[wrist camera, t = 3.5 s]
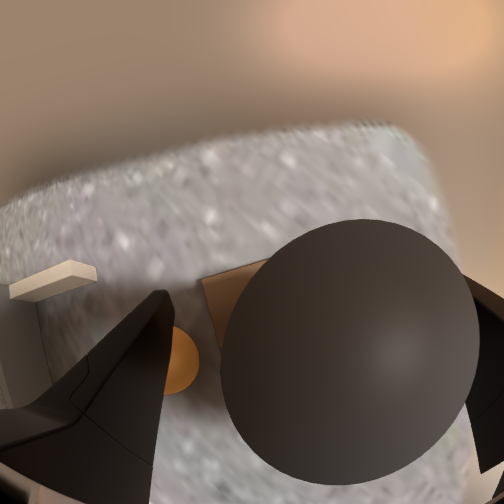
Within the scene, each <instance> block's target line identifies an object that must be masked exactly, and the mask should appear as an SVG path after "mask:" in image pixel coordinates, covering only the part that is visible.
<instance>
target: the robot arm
mask: <svg viewBox="0 0 504 504" xmlns="http://www.w3.org/2000/svg"><path fill="white" fill-rule="evenodd" d="M461 274H462V273H461ZM462 275H463V274H462ZM463 277H464V279H465V281H466V282H467V285H468V287H469V289H470V292H471V294H472V297H473V300H474V304H475V307H476V311H477V316H478V323H479V337H480V345H479V357H478V363H477V368H476V373H475V377H474V380H473V383H472V386H471V389H470V392H469V394H468V396H467V399H466V401H465V404H466V408H467V411H468V415H469V419H470V423H471V428H472V432H473V437H474V441H475V446H476V451H477V457H478V462H479V469H480V473H481V474H482V473H484V472H486V471H488V470H489V469H491V468H493V467H494V466H496V465H498V464H499V463H501V462H503V461H504V299H503V298H502V297H500V296H498V295H497V294H495V293H494V292H492V291H490V290H489V289H487V288H485V287H484V286H482V285H480V284H479V283H477V282H475V281H474V280H472V279H470V278H469V277H467V276H465V275H463ZM174 316H175V311H174V307H173V304H172V301H171V299H170V296H169V293H168V292H167V291H166V290H155V291H153V292H152V293H151V294H150V295H149V296H148V297H147V298H146V299H145V300H144V301H142V302H141V303H140V304H139V305H138V306H137V307H136V308H135V309H134V310H133V311H132V312H131V313H129V314H128V315H127V316H126V317H125V318H124V319H123V320H122V321H121V322H120V323H119V324H118V325H117V326H116V327H115V328H113V329H112V330H111V331H110V332H109V333H108V334H107V335H106V336H105V337H104V338H103V339H102V340H101V341H100V342H99V343H98V344H97V345H96V346H95V347H94V348H92V349H91V350H90V351H89V352H88V354H87V355H85V356H84V357H83V358H82V359H81V360H80V361H79V362H78V363H77V364H76V365H75V366H74V367H73V368H72V369H71V370H70V371H68V372H67V373H66V374H65V375H64V376H63V377H62V378H60V379H59V380H58V381H57V382H56V383H54V384H53V385H52V386H51V387H50V388H49V389H47V390H46V391H45V392H44V393H43V394H41V395H40V396H39V397H38V398H37V399H35V400H34V401H33V402H31V403H30V404H28V405H26V406H23V407H20V408H13V409H3V410H0V504H149V497H150V487H151V479H152V470H153V467H152V466H153V461H154V454H155V447H156V440H157V433H158V426H159V420H160V414H161V408H162V402H163V396H164V390H165V385H166V379H167V374H168V369H169V363H170V358H171V351H172V339H173V327H174ZM485 504H504V471H503V474H502V476H501V479H500V481H499V484H498V486H497V488H496V491H495V493H494V495H493V497H492V500H490V501H489V502H487V503H485Z"/></svg>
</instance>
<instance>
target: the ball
mask: <svg viewBox="0 0 504 504" xmlns="http://www.w3.org/2000/svg"><path fill="white" fill-rule="evenodd" d="M198 369H199V354H198V350H197V347H196V345H195V343H194V342H193V340H192V339H191V338H190V337H189V336H188V335H187V334H186V333H185V332H184V331H182V330H181V329H179V328H177V327H173V339H172V351H171V358H170V363H169V369H168V374H167V379H166V385H165V390H164V394H165V395H167V394H174V393H178V392H180V391H182V390H184V389H185V388H187V387H188V386H189V385H190V384H191V383H192V382H193V380H194V379H195V377H196V375H197V372H198Z"/></svg>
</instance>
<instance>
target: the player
mask: <svg viewBox="0 0 504 504" xmlns="http://www.w3.org/2000/svg"><path fill="white" fill-rule="evenodd" d="M479 345H480V337H479V323H478V316H477V311H476V307H475V304H474V300H473V297H472V294H471V292H470V289H469V287H468V285H467V282H466V281H465V279H464V277H463V275H462V274H461V272H460V270H459V269H458V267H457V266H456V265H455V264H454V262H453V261H452V260H451V258H450V257H449V256H448V255H447V254H446V253H445V252H444V251H443V250H442V249H441V248H440V247H439V246H438V245H436V244H435V243H433V242H432V241H431V240H429V239H428V238H427V237H425V236H423V235H422V234H420V233H418V232H416V231H414V230H412V229H410V228H407V227H404V226H401V225H399V224H396V223H391V222H386V221H381V220H369V219H358V220H346V221H341V222H337V223H332V224H328V225H325V226H322V227H319V228H317V229H314V230H311V231H309V232H307V233H305V234H303V235H302V236H300V237H298V238H296V239H294V240H292V241H291V242H290V243H288V244H287V245H285V246H284V247H283V248H281V249H280V250H278V251H277V252H276V253H275V254H274V255H273V256H272V257H271V258H269V259H268V260H267V261H266V262H265V263H264V264H263V265H262V266H261V267H260V269H259V270H258V271H257V272H256V273H255V275H254V276H253V277H252V278H251V279H250V281H249V282H248V284H247V285H246V287H245V288H244V290H243V292H242V293H241V295H240V296H239V298H238V300H237V302H236V304H235V307H234V309H233V311H232V313H231V315H230V318H229V321H228V324H227V327H226V331H225V334H224V339H223V345H222V350H221V367H220V374H221V384H222V391H223V395H224V399H225V403H226V407H227V410H228V412H229V415H230V417H231V419H232V422H233V424H234V426H235V427H236V429H237V431H238V432H239V434H240V435H241V437H242V439H243V440H244V441H245V442H246V443H247V445H248V446H249V447H250V448H251V449H252V450H253V452H255V453H256V454H257V455H258V456H259V457H260V458H261V459H263V460H264V461H265V462H266V463H268V464H269V465H271V466H272V467H274V468H275V469H277V470H279V471H280V472H282V473H285V474H287V475H289V476H291V477H294V478H296V479H300V480H303V481H307V482H310V483H317V484H324V485H350V484H358V483H363V482H367V481H371V480H375V479H378V478H381V477H384V476H386V475H389V474H391V473H394V472H396V471H397V470H399V469H401V468H403V467H405V466H407V465H408V464H410V463H412V462H413V461H414V460H416V459H417V458H419V457H420V456H422V455H423V454H424V453H425V452H426V451H428V450H429V449H430V448H431V447H432V446H433V445H434V444H435V443H436V442H437V441H438V440H439V439H440V438H441V437H442V436H443V435H444V434H445V432H446V431H447V430H448V428H449V427H450V426H451V424H452V423H453V422H454V420H455V419H456V417H457V416H458V414H459V412H460V410H461V409H462V407H463V405H464V403H465V401H466V399H467V396H468V394H469V392H470V389H471V386H472V383H473V380H474V377H475V373H476V368H477V363H478V357H479Z"/></svg>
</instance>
